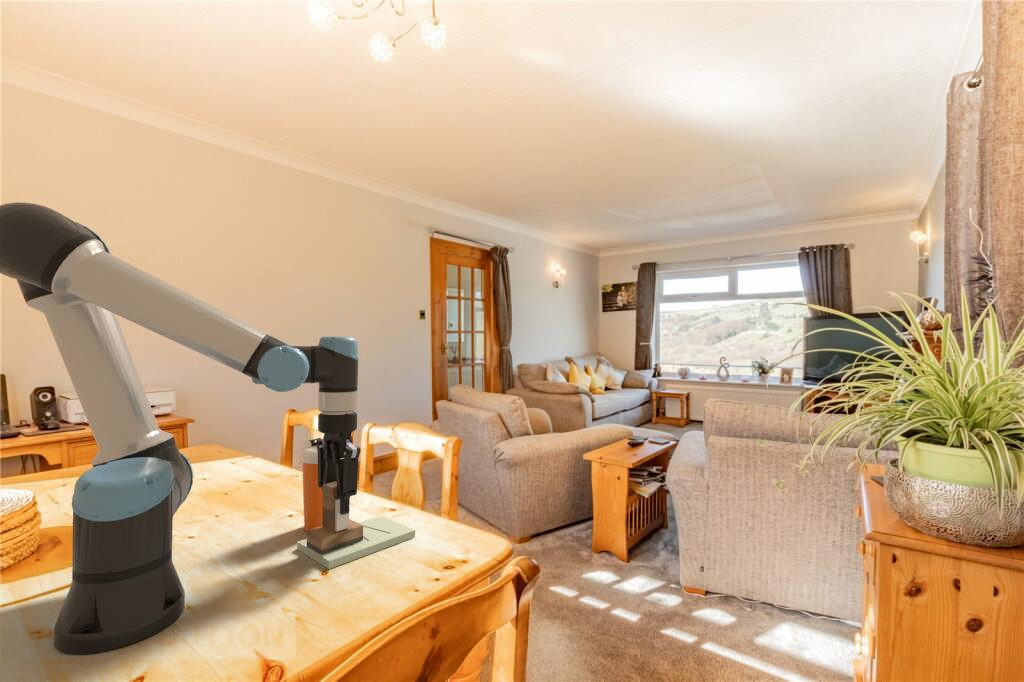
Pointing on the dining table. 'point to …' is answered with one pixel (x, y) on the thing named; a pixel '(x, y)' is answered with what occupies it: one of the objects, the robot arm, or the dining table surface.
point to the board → (362, 542)
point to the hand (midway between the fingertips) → (336, 526)
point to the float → (332, 526)
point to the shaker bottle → (311, 486)
